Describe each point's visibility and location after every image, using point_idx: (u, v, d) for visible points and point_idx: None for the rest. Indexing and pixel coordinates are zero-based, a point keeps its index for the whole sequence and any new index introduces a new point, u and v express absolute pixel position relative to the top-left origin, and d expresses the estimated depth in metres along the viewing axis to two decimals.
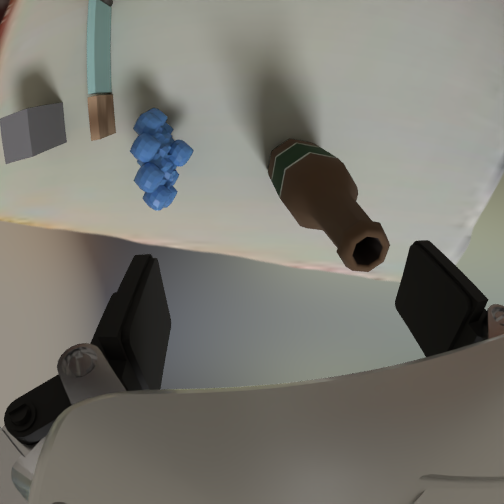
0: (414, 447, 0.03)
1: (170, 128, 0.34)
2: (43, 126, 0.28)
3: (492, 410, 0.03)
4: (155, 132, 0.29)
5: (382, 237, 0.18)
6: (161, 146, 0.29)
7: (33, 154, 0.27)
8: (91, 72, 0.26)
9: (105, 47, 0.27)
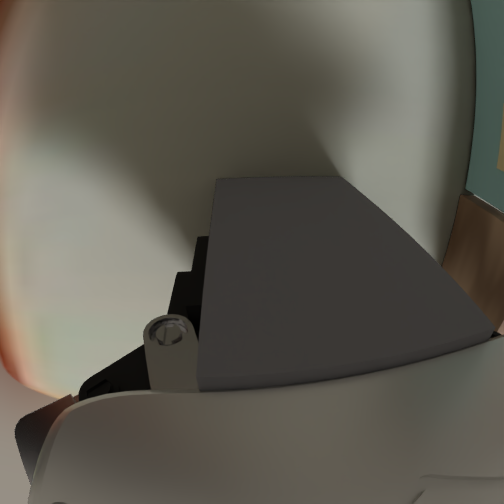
0: (414, 447, 0.03)
1: None
2: None
3: (492, 410, 0.03)
4: None
5: None
6: None
7: None
8: None
9: None
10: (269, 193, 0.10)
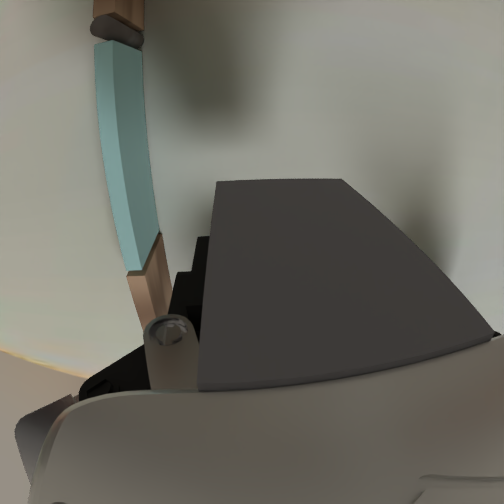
0: (414, 447, 0.03)
1: None
2: None
3: (492, 410, 0.03)
4: None
5: None
6: None
7: None
8: (125, 229, 0.15)
9: (140, 150, 0.17)
10: (270, 195, 0.10)
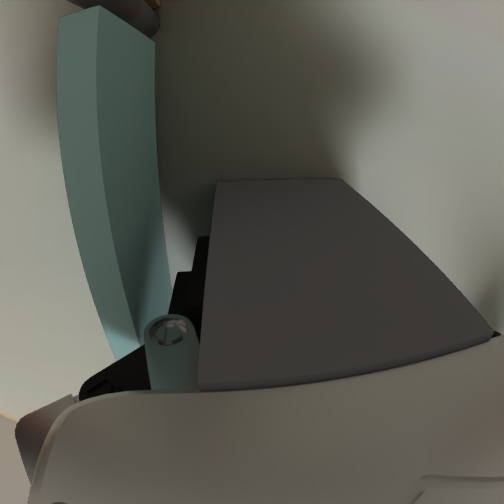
0: (414, 447, 0.03)
1: None
2: None
3: (492, 410, 0.03)
4: None
5: None
6: None
7: None
8: None
9: (151, 225, 0.10)
10: (270, 196, 0.10)
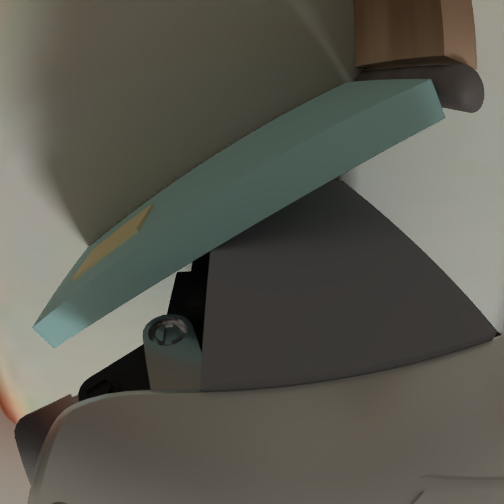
0: (414, 447, 0.03)
1: None
2: None
3: (492, 410, 0.03)
4: None
5: None
6: None
7: None
8: (88, 308, 0.07)
9: None
10: None
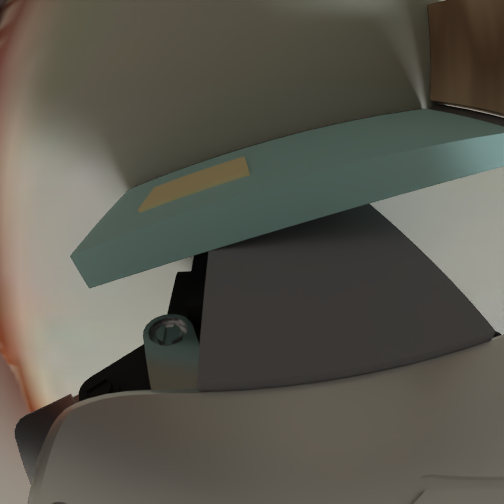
0: (414, 447, 0.03)
1: None
2: None
3: (492, 410, 0.03)
4: None
5: None
6: None
7: None
8: (171, 244, 0.06)
9: None
10: None
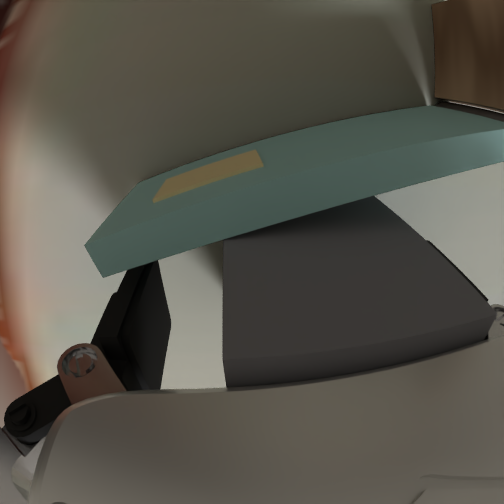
0: (414, 447, 0.03)
1: None
2: None
3: (492, 410, 0.03)
4: None
5: None
6: None
7: None
8: (187, 232, 0.07)
9: None
10: None
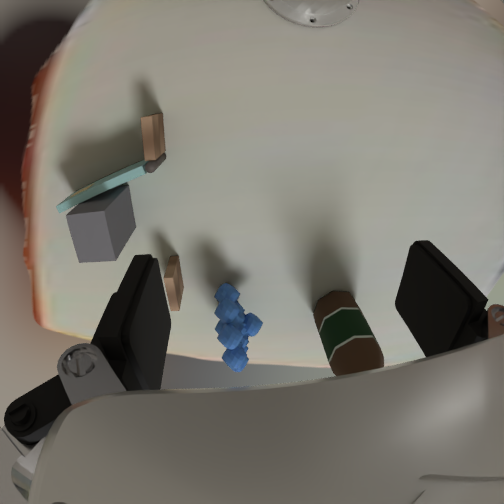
0: (414, 447, 0.03)
1: None
2: (118, 222, 0.32)
3: (492, 410, 0.03)
4: (235, 319, 0.38)
5: None
6: (240, 328, 0.39)
7: (116, 258, 0.31)
8: (72, 202, 0.31)
9: None
10: None
